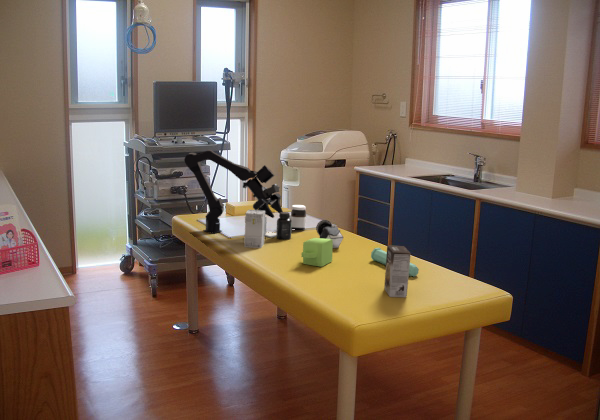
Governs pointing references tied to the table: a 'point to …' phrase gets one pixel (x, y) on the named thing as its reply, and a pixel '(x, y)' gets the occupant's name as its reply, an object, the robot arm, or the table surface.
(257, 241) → the circuit breaker
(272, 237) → the grey mat
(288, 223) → the supplement bottle
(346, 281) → the table surface
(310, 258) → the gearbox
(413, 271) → the container
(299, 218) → the white and brown mug
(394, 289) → the coffee box
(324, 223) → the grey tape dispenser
